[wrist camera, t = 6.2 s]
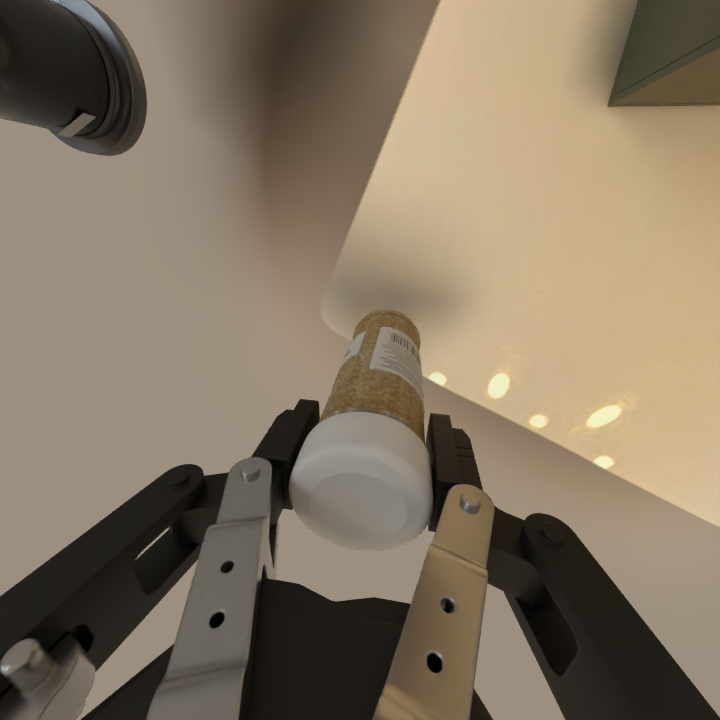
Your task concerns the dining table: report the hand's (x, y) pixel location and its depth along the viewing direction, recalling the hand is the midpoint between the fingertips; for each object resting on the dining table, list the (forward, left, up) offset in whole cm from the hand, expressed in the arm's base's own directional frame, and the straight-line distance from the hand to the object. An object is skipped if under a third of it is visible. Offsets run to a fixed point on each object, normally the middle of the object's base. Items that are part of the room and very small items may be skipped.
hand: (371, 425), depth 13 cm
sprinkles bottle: (0, 0, -10) cm, 10 cm away
